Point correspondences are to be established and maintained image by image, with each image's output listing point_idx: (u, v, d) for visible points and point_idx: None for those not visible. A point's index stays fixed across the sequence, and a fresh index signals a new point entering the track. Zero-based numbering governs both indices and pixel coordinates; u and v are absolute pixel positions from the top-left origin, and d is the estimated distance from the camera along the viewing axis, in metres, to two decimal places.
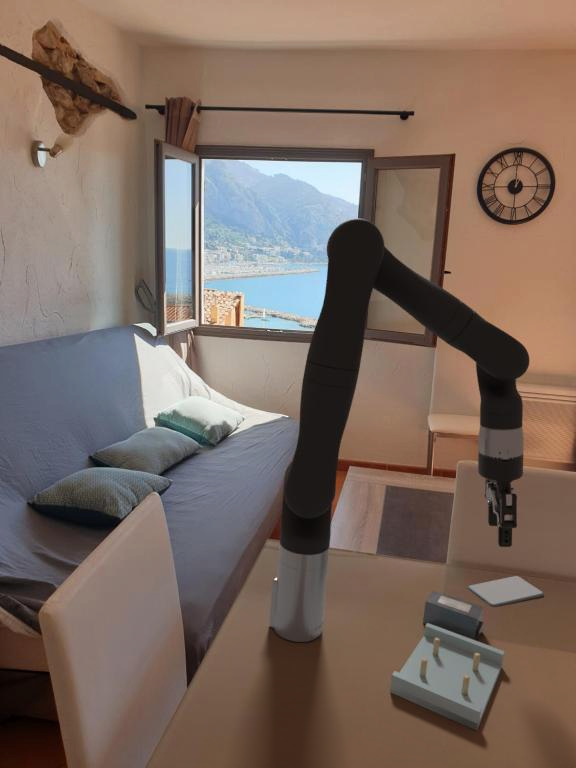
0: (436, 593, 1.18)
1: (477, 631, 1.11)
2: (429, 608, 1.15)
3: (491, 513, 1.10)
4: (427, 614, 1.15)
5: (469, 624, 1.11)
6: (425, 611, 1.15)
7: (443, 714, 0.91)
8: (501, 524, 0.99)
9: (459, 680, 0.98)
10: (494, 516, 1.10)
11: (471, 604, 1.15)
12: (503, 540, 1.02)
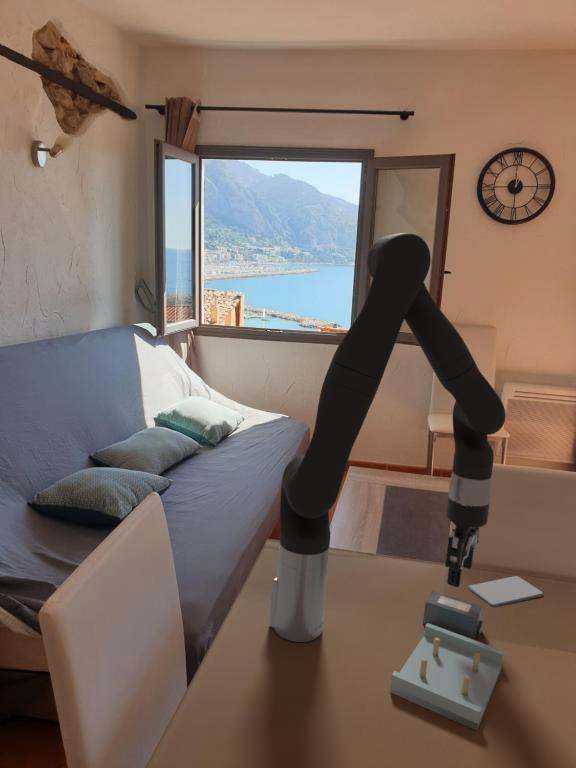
0: (435, 593, 1.18)
1: (477, 631, 1.11)
2: (429, 608, 1.14)
3: None
4: (427, 614, 1.15)
5: (469, 623, 1.11)
6: (425, 611, 1.15)
7: (443, 714, 0.91)
8: (445, 563, 1.07)
9: (459, 680, 0.98)
10: (466, 559, 1.16)
11: (470, 604, 1.15)
12: (450, 579, 1.09)
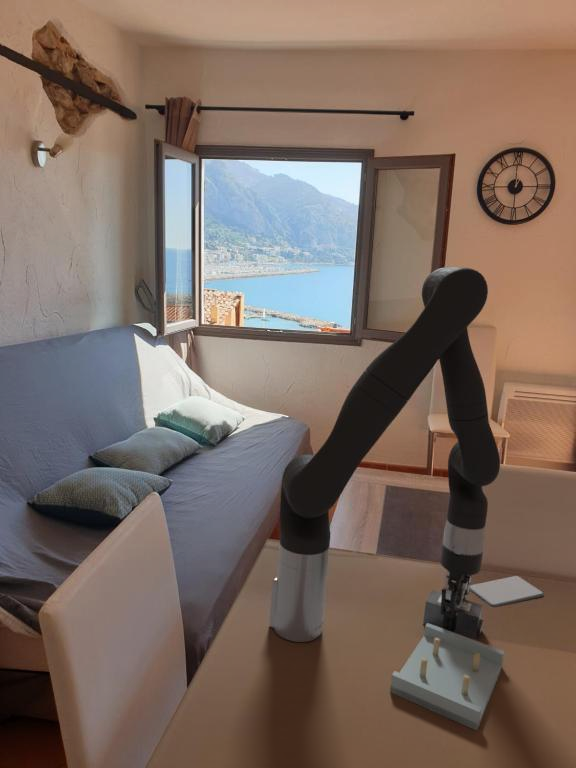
0: (435, 592, 1.18)
1: (478, 629, 1.11)
2: (429, 608, 1.14)
3: None
4: (428, 614, 1.15)
5: (470, 622, 1.11)
6: (425, 611, 1.15)
7: (443, 714, 0.91)
8: (440, 611, 1.10)
9: (459, 680, 0.98)
10: None
11: (471, 602, 1.15)
12: (445, 626, 1.12)
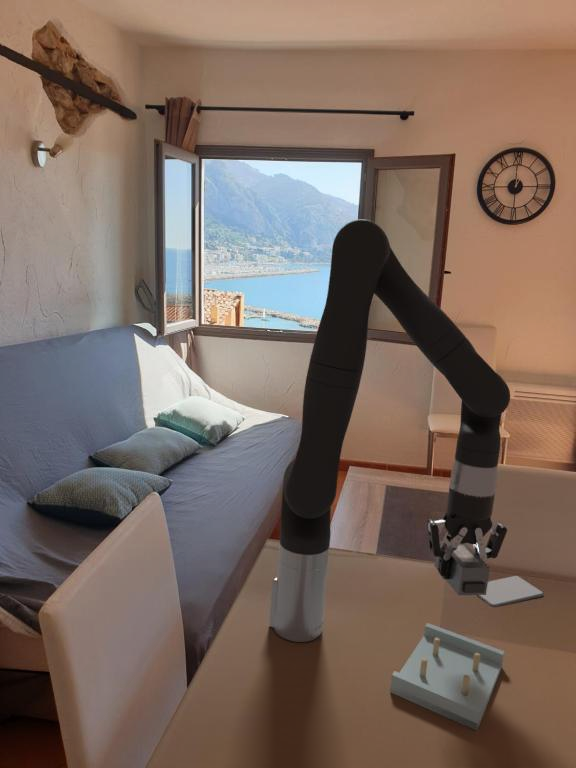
0: None
1: (464, 584, 0.98)
2: None
3: None
4: None
5: (457, 572, 1.00)
6: None
7: (443, 714, 0.91)
8: None
9: (459, 680, 0.98)
10: None
11: (480, 561, 1.01)
12: (438, 567, 1.04)
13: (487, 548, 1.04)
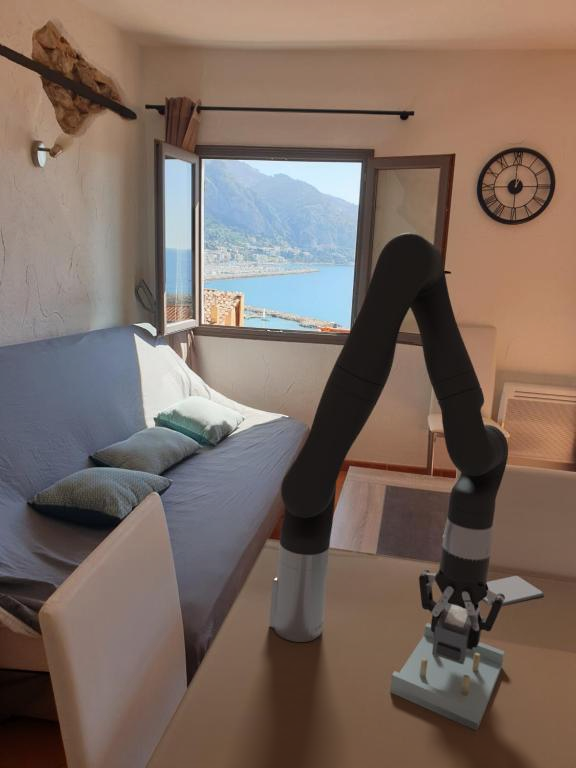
0: None
1: (437, 644, 0.95)
2: None
3: None
4: None
5: None
6: None
7: (443, 714, 0.91)
8: None
9: (459, 680, 0.98)
10: None
11: (466, 628, 0.95)
12: None
13: (486, 619, 0.96)
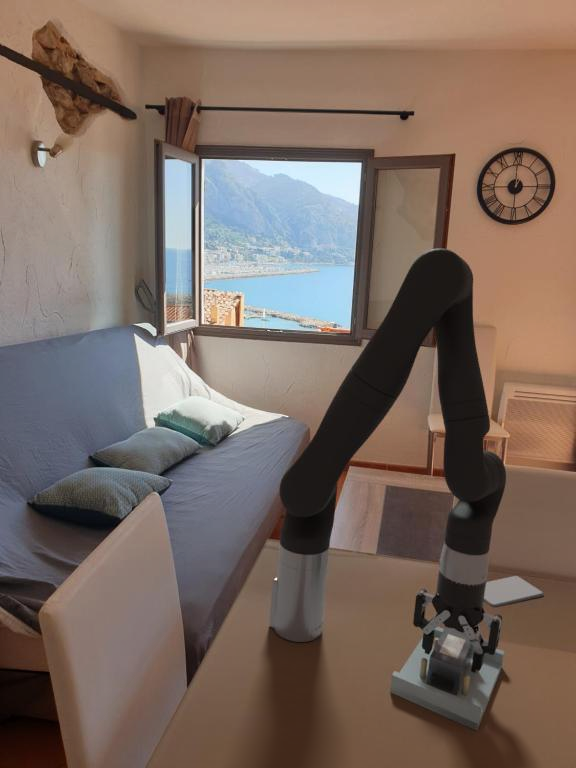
0: None
1: (431, 674, 0.96)
2: None
3: None
4: None
5: None
6: None
7: (443, 714, 0.91)
8: None
9: None
10: None
11: (460, 659, 0.96)
12: None
13: None
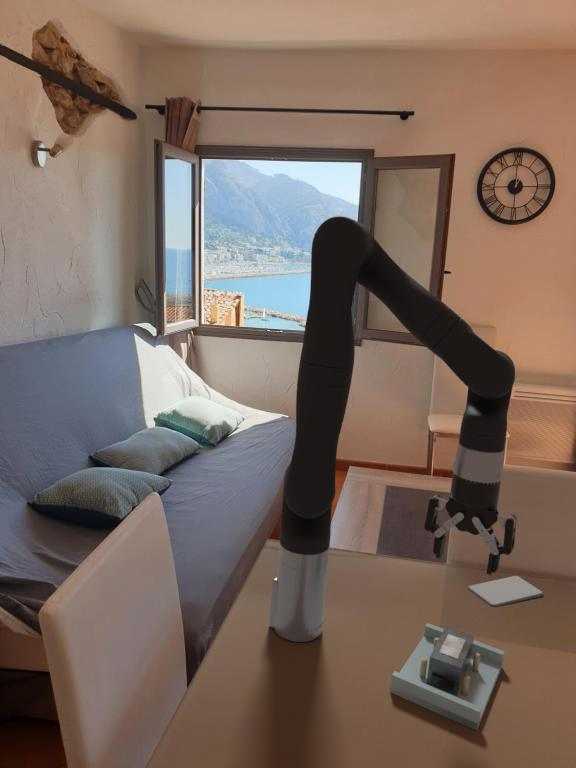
0: (468, 637, 1.02)
1: (431, 674, 0.96)
2: None
3: None
4: None
5: None
6: None
7: (443, 714, 0.91)
8: None
9: None
10: None
11: (460, 659, 0.96)
12: None
13: None
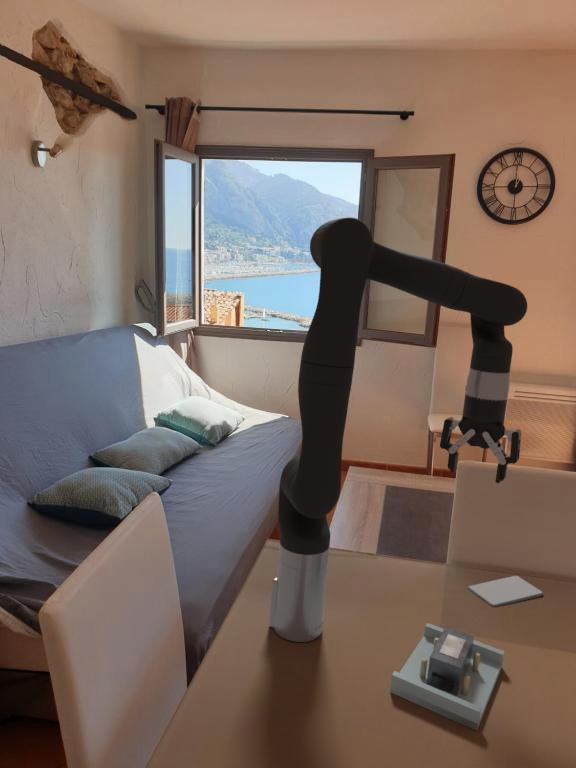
0: (468, 637, 1.02)
1: (431, 674, 0.96)
2: None
3: None
4: None
5: None
6: None
7: (443, 714, 0.91)
8: None
9: None
10: None
11: (460, 659, 0.96)
12: None
13: None
